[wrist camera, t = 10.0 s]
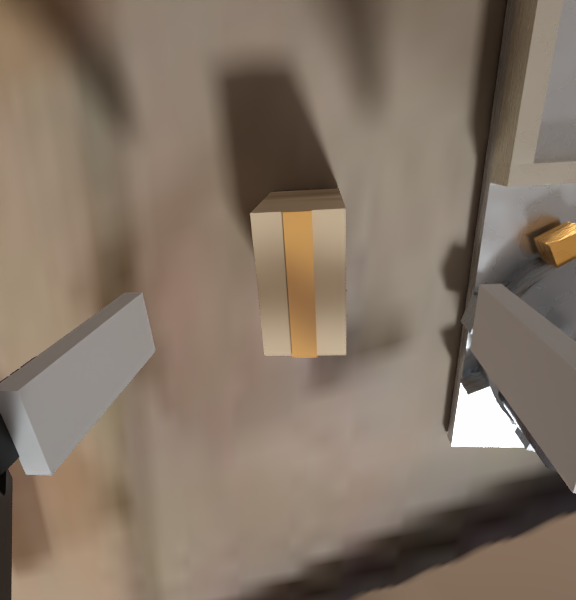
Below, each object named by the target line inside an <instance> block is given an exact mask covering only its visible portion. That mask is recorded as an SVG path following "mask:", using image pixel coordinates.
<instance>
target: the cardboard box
mask: <svg viewBox="0 0 576 600" xmlns="http://www.w3.org/2000/svg"><path fill="white" fill-rule="evenodd" d="M250 218H251V228H252V238H253V247H254V257H255V267H256V277H257V286H258V296H259V306H260V316H261V325H262V335H263V345H264V355H265V356H292V358H313V357H317V355H346V208H345V205H344V202H343V199H342V196H341V194H340V191H339V188H335V189H317V190H299V191H281V192H270V193H269V194H268V195H267V197H266V198H265V199H264V200H263V201H262V202H261V203H260V204H259V205H258V206H257V207H256V208H255V209H254V210H253V211H252V212H251V213H250Z"/></svg>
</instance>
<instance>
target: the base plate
mask: <svg viewBox="0 0 576 600" xmlns="http://www.w3.org/2000/svg"><path fill="white" fill-rule="evenodd" d="M566 222H571V223H574V224H576V0H508V1H507V8H506V15H505V22H504V30H503V37H502V44H501V51H500V59H499V66H498V73H497V80H496V88H495V95H494V102H493V109H492V117H491V124H490V131H489V138H488V146H487V153H486V160H485V167H484V175H483V182H482V189H481V196H480V204H479V211H478V218H477V225H476V233H475V240H474V247H473V254H472V262H471V269H470V276H469V283H468V291H467V298H466V305H465V311H466V309H467V307H468V305H469V303H470V301H471V299H472V296H473V295H475V296H478V290H479V284H502V285H503V286H505V285H506V284H507V283H508V282H509V281H510V280H511V279H512V278H513V277H514V276H515V275H516V274H518V273H519V272H520V271H521V270H523V269H524V268H525V267H526V266H528V265H529V264H531V263H532V262H534V261H535V260H537V259H538V258H540V255H539V252H538V249H537V247H536V244H535V241H534V239H533V238H535V237H537V236H539V235H541V234H543V233H545V232H547V231H549V230H551V229H553V228H555V227H557V226H559V225H561V224H564V223H566ZM464 313H465V312H464ZM471 339H472V334H470V333H469V332H468V330H467V329H466V328H465V327H464V325H463V327H462V334H461V341H460V349H459V356H458V363H457V370H456V378H455V385H454V392H453V399H452V407H451V414H450V421H449V428H448V439H449V441H450V443H451V446H469V447H524V445H523V444H522V442H521V441H520V439H519V438H518V436H517V435H516V433H515V430H516V428H517V427H518V425H517V424H516V423H515V422H513V421H512V420H511V419H510V418H509V417H508V416H507V415H506V414H505V413H504V411H503V410H502V409H501V408H498V409H495V410H492V411H489V412H487V413H484V414H481V415H478V413H477V412H476V410H475V408H474V406H473V405H472V403H471V401H470V399H469V397H468V396H467V394H466V392H465V390H464V388H463V386H462V384H461V382H460V380H459V379H462V378H464V377H467V376H469V375H472V374H474V373H477V372H479V369H478V365H477V360H476V357H475V356H474V354H473V353H472V351H471V350H470V346H471Z"/></svg>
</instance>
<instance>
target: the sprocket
mask: <svg viewBox="0 0 576 600" xmlns="http://www.w3.org/2000/svg"><path fill="white" fill-rule="evenodd" d="M533 239H534V241H535V244H536V247H537V249H538V252H539V255H540V258H538V259H537V260H535V261H534V262H532V263H531V264H529V265H528V266H526V267H525V268H524V269H523V270H521V271H520V272H519V273H518V274H516V275H515V276H514V277H513V278H512V279H511V280H510V281H509V282H508V283H507V284H506V285H505V287H506V288H507V289H509V290H510V291H511V292H512V293H514V294H515V295H516V296H518V297H519V298H520V299H521V300H523V301H524V302H525V303H527V304H528V305H529V306H531V307H532V308H533V309H534V310H536V311H537V312H538V313H540V314H541V315H542V316H543V317H545V318H546V319H547V320H549V321H550V322H551V323H552V324H554V325H555V326H556V327H558V328H559V329H560V330H561V331H563V332H564V333H565V334H567V335H568V336H569V337H571V338H572V339H573V340H574V341H576V224H574V223H571V222H566V223H564V224H561V225H559V226H557V227H555V228H553V229H551V230H549V231H547V232H545V233H543V234H541V235H539V236H537V237H535V238H533ZM477 297H478V296H475V295H473V296H472V299H471V301H470V303H469V305H468V307H467V309H466V311H465V313H464V315H463V317H462V319H461V323H462V324H463V325H464V327H465V328H466V329H467V330H468V332H469V333H470V334H472V332H473V325H474V318H475V311H476V304H477ZM476 360H477V358H476ZM477 365H478V369H479V372H477V373H474V374H472V375H469V376H467V377H464V378H462V379H459V380H460V382H461V384H462V386H463V388H464V390H465V392H466V394H467V396H468V397H469V399H470V401H471V403H472V405H473V406H474V408H475V410H476V412H477V413H478V415H481V414H484V413H487V412H489V411H492V410H495V409H498V408H501V409H502V410H503V411H504V413H505V414H506V415H507V416H508V417H509V418H510V419H511V420H512V421H513V422H515V423H516V424H517V425H518V427H517V428H516V430H515V433H516V435H517V436H518V438H519V439H520V441H521V442H522V444H523V445H524V447H525V448H526V449H527V450H531V451H535V452H536V453H537V454H538V456H539V457H540V459H541V460H542V462H543V463H544V465H545V466H546V467H547V468H549V469H551V470H554V471H557V470H556V469H555V467H554V466H553V465H552V463H551V462H550V460H549V459H548V458H547V456H546V455H545V453H544V452H543V451H542V449H541V448H540V446H539V445H538V444H537V442H536V441H535V439H534V438H533V437H532V435H531V434H530V432H529V431H528V430H527V428H526V427H525V426H524V424H523V423H522V421H521V420H520V419H519V417H518V416H517V414H516V413H515V412H514V410H513V409H512V407H511V406H510V405H509V403H508V402H507V400H506V399H505V398H504V396H503V395H502V393H501V392H500V391H499V389H498V388H497V386H496V385H495V384H494V382H493V381H492V379H491V378H490V377H489V375H488V374H487V372H486V371H485V370H484V368H483V367H482V365H481V364H480V363H479V361H478V360H477Z"/></svg>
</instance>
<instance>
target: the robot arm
mask: <svg viewBox="0 0 576 600" xmlns="http://www.w3.org/2000/svg"><path fill="white" fill-rule="evenodd" d="M470 350H471V351H472V353H473V354H474V356H475V357H476V358H477V360H478V361H479V363H480V364H481V365H482V367H483V368H484V370H485V371H486V372H487V374H488V375H489V377H490V378H491V379H492V381H493V382H494V384H495V385H496V386H497V388H498V389H499V391H500V392H501V393H502V395H503V396H504V398H505V399H506V400H507V402H508V403H509V405H510V406H511V407H512V409H513V410H514V412H515V413H516V414H517V416H518V417H519V419H520V420H521V421H522V423H523V424H524V426H525V427H526V428H527V430H528V431H529V432H530V434H531V435H532V437H533V438H534V439H535V441H536V442H537V444H538V445H539V446H540V448H541V449H542V451H543V452H544V453H545V455H546V456H547V458H548V459H549V460H550V462H551V463H552V465H553V466H554V467H555V469H556V470H557V472H558V473H559V474H560V476H561V477H562V479H563V480H564V481H565V483H566V484H567V486H568V487H569V488H570V490H571V491H572V493H576V341H574V340H573V339H572V338H571V337H569V336H568V335H567V334H565V333H564V332H563V331H561V330H560V329H559V328H558V327H556V326H555V325H554V324H552V323H551V322H550V321H549V320H547V319H546V318H545V317H543V316H542V315H541V314H540V313H538V312H537V311H536V310H534V309H533V308H532V307H531V306H529V305H528V304H527V303H525V302H524V301H523V300H521V299H520V298H519V297H518V296H516V295H515V294H514V293H512V292H511V291H510V290H509V289H507V288H506V287H505V286H503V285H502V284H479V290H478V297H477V304H476V311H475V318H474V325H473V332H472V339H471V346H470ZM154 352H155V347H154V342H153V338H152V333H151V329H150V325H149V320H148V316H147V311H146V307H145V302H144V298H143V293H142V292H140V293H124V294H122V295H121V296H120V297H118V298H117V299H115V300H114V301H113V302H111V303H110V304H109V305H107V306H106V307H104V308H103V309H102V310H100V311H99V312H97V313H96V314H95V315H93V316H92V317H91V318H89V319H88V320H86V321H85V322H84V323H82V324H81V325H79V326H78V327H77V328H75V329H74V330H73V331H71V332H70V333H68V334H67V335H66V336H64V337H63V338H61V339H60V340H59V341H57V342H56V343H55V344H53V345H52V346H50V347H49V348H48V349H46V350H45V351H44V352H42V353H41V354H39V355H38V356H36V357H34V358H33V359H31V360H30V361H28V362H27V363H26V364H24V365H23V366H21V368H20V369H17V370H16V371H14V372H13V373H12V374H10V376H9V377H6V378H5V379H3V380H2V381H1V382H0V600H11V573H12V477H11V475H10V472H9V470H8V468H9V467H10V466H11V465H12V464H13V463H14V462H15V461H16V460H17V459H18V458H19V460H20V462H21V464H22V467H23V469H24V471H25V473H26V475H53V473H54V472H55V471H56V470H57V469H58V467H59V466H60V465H61V464H62V463H63V461H64V460H65V459H66V458H67V457H68V455H69V454H70V453H71V452H72V451H73V449H74V448H75V447H76V446H77V445H78V443H79V442H80V441H81V440H82V439H83V437H84V436H85V435H86V434H87V433H88V431H89V430H90V429H91V428H92V427H93V425H94V424H95V423H96V422H97V421H98V419H99V418H100V417H101V416H102V415H103V413H104V412H105V411H106V410H107V409H108V408H109V406H110V405H111V404H112V403H113V402H114V400H115V399H116V398H117V397H118V396H119V394H120V393H121V392H122V391H123V390H124V388H125V387H126V386H127V385H128V384H129V382H130V381H131V380H132V379H133V378H134V376H135V375H136V374H137V373H138V372H139V370H140V369H141V368H142V367H143V366H144V364H145V363H146V362H147V361H148V360H149V358H150V357H151V356H152V355H153V354H154Z"/></svg>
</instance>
